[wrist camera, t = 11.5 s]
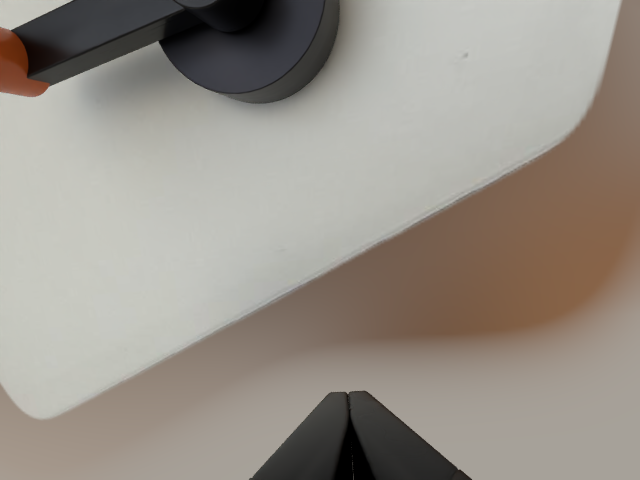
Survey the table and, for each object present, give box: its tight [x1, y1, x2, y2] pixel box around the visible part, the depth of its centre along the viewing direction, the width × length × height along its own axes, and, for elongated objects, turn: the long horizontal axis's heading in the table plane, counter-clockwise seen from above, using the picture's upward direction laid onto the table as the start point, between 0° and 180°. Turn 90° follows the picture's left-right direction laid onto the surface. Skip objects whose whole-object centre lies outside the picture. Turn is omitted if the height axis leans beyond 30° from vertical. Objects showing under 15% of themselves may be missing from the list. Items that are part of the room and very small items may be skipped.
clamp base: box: [159, 0, 339, 103], centre depth 18 cm, size 8×8×3 cm
